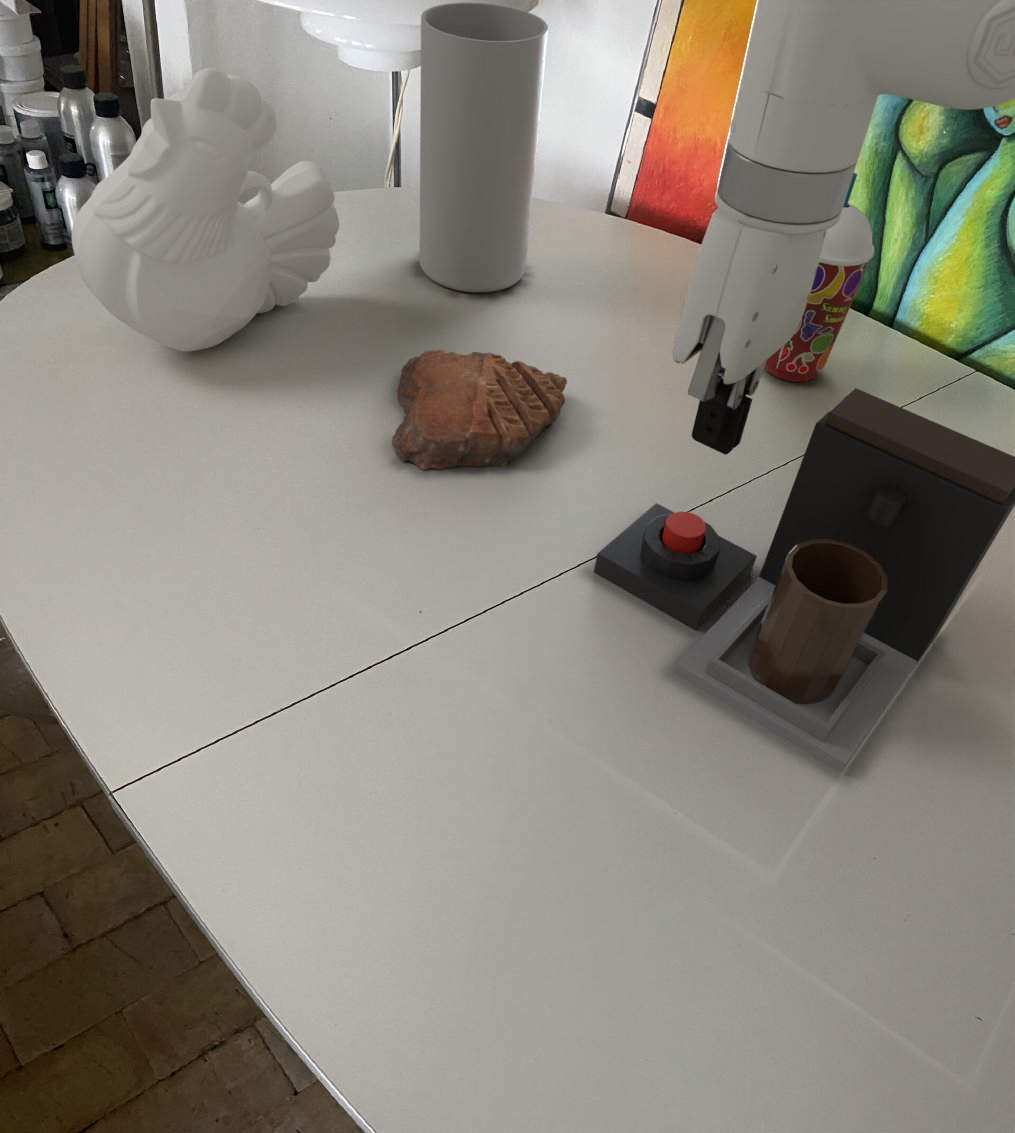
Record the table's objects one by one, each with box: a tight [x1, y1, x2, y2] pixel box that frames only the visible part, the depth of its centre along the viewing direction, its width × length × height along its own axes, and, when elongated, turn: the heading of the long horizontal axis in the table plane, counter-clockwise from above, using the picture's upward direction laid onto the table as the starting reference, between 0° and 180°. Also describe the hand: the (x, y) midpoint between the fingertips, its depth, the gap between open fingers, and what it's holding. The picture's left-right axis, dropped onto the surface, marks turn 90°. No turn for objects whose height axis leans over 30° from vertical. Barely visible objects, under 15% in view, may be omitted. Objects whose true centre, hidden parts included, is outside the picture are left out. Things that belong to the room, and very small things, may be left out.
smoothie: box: [764, 172, 875, 383], centre depth 96 cm, size 8×8×20 cm
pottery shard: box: [391, 349, 568, 471], centre depth 91 cm, size 16×16×4 cm
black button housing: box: [593, 502, 758, 632], centre depth 78 cm, size 10×9×4 cm
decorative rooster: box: [71, 67, 340, 352], centre depth 92 cm, size 25×16×25 cm
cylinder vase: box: [419, 2, 549, 293], centre depth 103 cm, size 12×12×25 cm
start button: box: [662, 511, 706, 554], centre depth 76 cm, size 3×3×2 cm
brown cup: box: [748, 539, 888, 704], centre depth 68 cm, size 7×7×10 cm
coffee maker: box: [674, 387, 1015, 773], centre depth 68 cm, size 14×18×17 cm
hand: (714, 442), depth 70 cm, fingers closed
